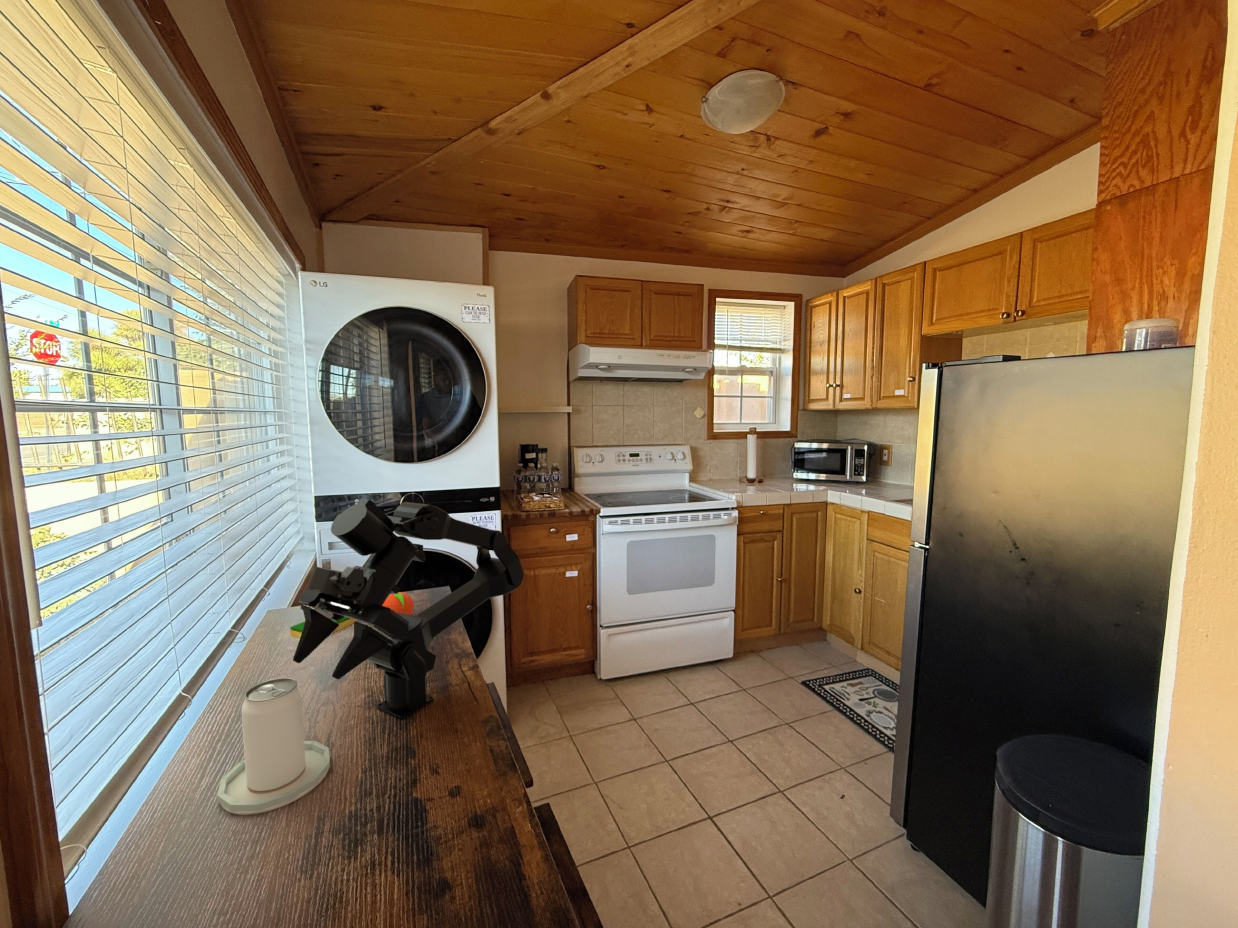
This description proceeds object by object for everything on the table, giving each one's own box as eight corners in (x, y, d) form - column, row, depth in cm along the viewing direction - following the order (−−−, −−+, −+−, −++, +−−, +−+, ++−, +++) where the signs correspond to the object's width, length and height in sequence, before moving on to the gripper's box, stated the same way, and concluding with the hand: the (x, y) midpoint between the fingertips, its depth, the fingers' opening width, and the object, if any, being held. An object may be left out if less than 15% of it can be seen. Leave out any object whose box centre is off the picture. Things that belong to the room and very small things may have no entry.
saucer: (348, 766, 69) (348, 757, 69) (250, 829, 59) (250, 818, 59) (298, 739, 75) (297, 731, 75) (200, 792, 64) (200, 782, 64)
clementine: (420, 624, 117) (419, 594, 117) (388, 632, 113) (387, 601, 112) (408, 613, 123) (407, 585, 123) (377, 621, 119) (376, 591, 118)
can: (285, 754, 71) (280, 671, 70) (316, 767, 68) (312, 682, 67) (234, 784, 65) (228, 695, 64) (267, 800, 62) (261, 707, 61)
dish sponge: (289, 637, 111) (289, 626, 111) (345, 614, 124) (344, 605, 123) (312, 643, 108) (311, 632, 108) (366, 619, 121) (366, 609, 121)
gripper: (308, 536, 78) (230, 631, 69) (388, 551, 69) (310, 663, 61) (357, 572, 86) (293, 662, 77) (435, 590, 77) (372, 695, 68)
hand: (314, 669), depth 71 cm, fingers open, 9 cm apart
